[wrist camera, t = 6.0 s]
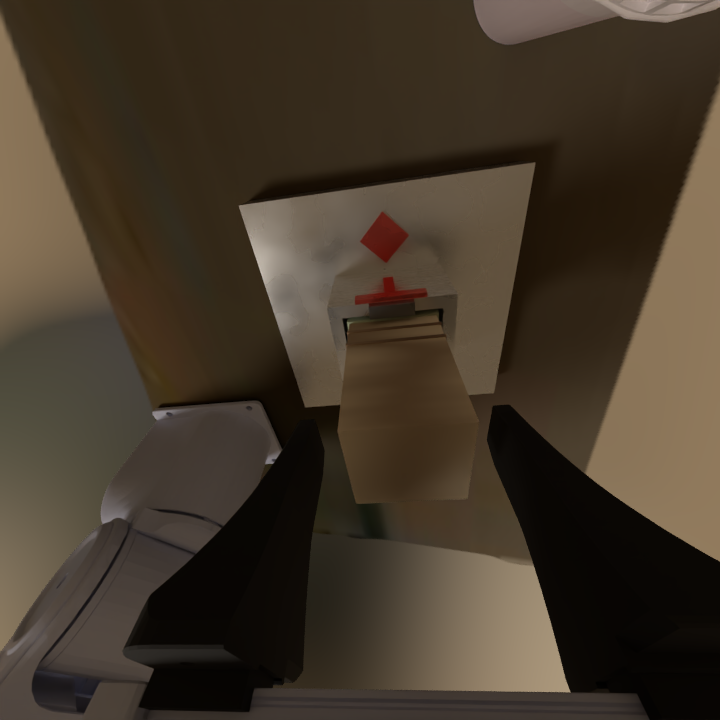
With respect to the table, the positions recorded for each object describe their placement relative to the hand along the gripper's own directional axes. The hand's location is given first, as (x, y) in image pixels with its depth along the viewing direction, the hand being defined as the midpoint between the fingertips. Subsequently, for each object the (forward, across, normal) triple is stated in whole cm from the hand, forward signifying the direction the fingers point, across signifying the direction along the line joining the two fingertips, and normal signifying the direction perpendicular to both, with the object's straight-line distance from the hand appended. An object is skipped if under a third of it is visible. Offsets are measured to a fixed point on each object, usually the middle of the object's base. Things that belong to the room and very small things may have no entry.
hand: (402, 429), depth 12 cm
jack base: (+9, 0, -1) cm, 9 cm away
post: (+5, 0, -1) cm, 5 cm away
